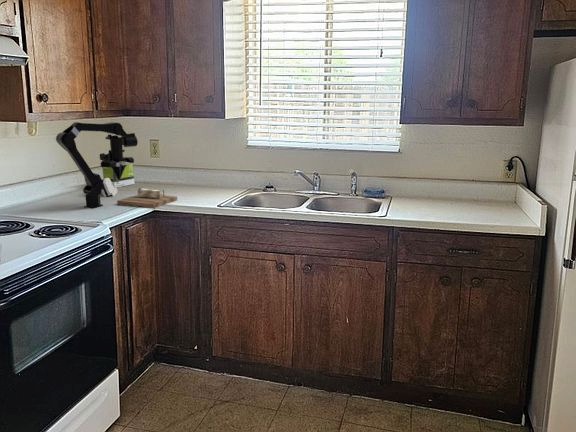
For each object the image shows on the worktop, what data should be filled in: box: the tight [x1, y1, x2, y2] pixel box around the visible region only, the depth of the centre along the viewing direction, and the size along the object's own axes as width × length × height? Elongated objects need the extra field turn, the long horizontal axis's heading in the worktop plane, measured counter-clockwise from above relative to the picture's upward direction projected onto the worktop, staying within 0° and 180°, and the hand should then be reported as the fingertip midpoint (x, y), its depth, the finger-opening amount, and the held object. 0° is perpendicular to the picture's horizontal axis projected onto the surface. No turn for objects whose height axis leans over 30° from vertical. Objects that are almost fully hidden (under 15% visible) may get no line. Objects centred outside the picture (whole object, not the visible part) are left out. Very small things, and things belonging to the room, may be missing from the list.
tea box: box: [101, 162, 135, 188], centre depth 320 cm, size 15×10×15 cm, turn 145°
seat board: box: [116, 188, 178, 209], centre depth 273 cm, size 20×22×6 cm
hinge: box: [101, 178, 118, 198], centre depth 295 cm, size 17×5×10 cm, turn 9°
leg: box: [137, 187, 164, 198], centre depth 276 cm, size 13×3×4 cm, turn 70°
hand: (119, 179), depth 272 cm, fingers closed
